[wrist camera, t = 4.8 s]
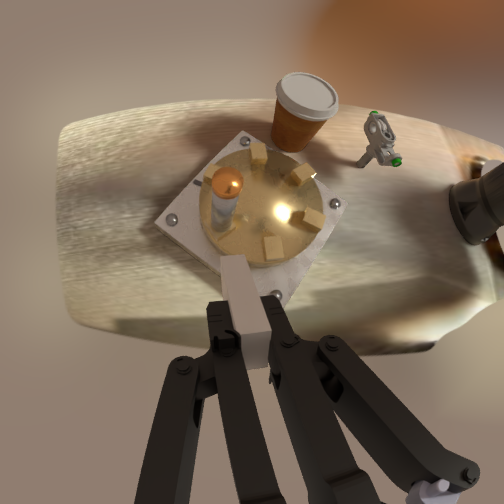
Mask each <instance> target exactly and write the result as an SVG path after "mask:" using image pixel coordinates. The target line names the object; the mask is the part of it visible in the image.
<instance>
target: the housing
mask: <svg viewBox="0 0 504 504" xmlns="http://www.w3.org/2000/svg"><path fill="white" fill-rule="evenodd" d="M250 143H262V142H261V141H259V140H258V139H256V138H255V137H253V136H251V135H250V134H248V133H246V132H245V131H243V130H242V131H241V132H240V133H239V134H238V135H237V136H236V137H235V138H234V139H233V140H232V141H231V142H230V143H228V144H227V145H226V146H225V147H224V148H223V149H222V150H221V151H220V152H219V153H218V154H217V155H216V156H215V157H214V158H213V159H212V160H211V161H210V162H209V163H208V164H207V165H206V166H205V167H204V168H203V169H202V170H201V172H200V173H199V174H198V175H197V176H196V177H195V178H194V179H193V180H192V181H191V182H190V183H189V184H188V185H187V186H186V187H185V188H184V190H183V191H182V192H181V193H180V194H179V195H178V196H177V197H176V198H175V199H174V200H173V202H172V203H171V204H170V205H169V206H168V207H167V208H166V209H165V211H164V212H163V213H162V214H161V215H160V216H159V217H158V219H157V220H156V221H155V222H154V223H155V225H156V227H157V229H158V230H159V231H161V232H162V233H163V234H164V235H166V236H167V237H168V238H169V239H171V240H172V241H173V242H175V243H176V244H177V245H179V246H180V247H181V248H182V249H184V250H185V251H186V252H188V253H189V254H190V255H192V256H193V257H194V258H196V259H197V260H198V261H200V262H201V263H202V264H204V265H205V266H206V267H208V268H209V269H210V270H212V271H213V272H214V273H216V274H217V275H218V276H220V277H221V261H220V256H224V255H223V254H222V253H220V252H219V251H218V250H217V249H216V248H215V247H214V246H213V245H212V243H211V242H210V240H209V239H208V238H207V236H206V234H205V232H204V230H203V227H202V224H201V219H200V210H199V194H200V189H201V185H202V182H203V175H204V173H205V171H206V170H207V168H208V166H209V165H210V163H212V164H215V163H216V162H217V161H219V160H220V159H221V158H223V157H224V156H226V155H228V154H230V153H233V152H236V151H239V150H243V149H249V145H250ZM265 147H266V149H269V150H273V149H272V148H270V147H269V146H267V145H266V144H265ZM273 151H275V150H273ZM313 179H314V181H315V182H316V184H317V186H318V188H319V191H320V194H321V197H322V202H323V214H324V215H326V219H325V222H324V225H323V228H322V230H321V231H320V232H318V234H317V236H316V238H315V239H314V240H313V242H312V243H311V244H310V245H309V246H308V247H307V248H306V249H305V250H304V251H302V252H301V253H300V254H299V255H297V256H296V257H295V258H293V259H292V260H290V261H288V262H286V263H284V264H281V265H278V266H274V267H266V268H258V267H250V266H249V268H250V271H251V274H252V277H253V280H254V282H255V285H256V288H257V291H258V294H259V296H267V295H274V296H275V297H276V298H278V299H279V300H280V302H281V305H282V308H284V307H285V305H286V304H287V302H288V301H289V299H290V298H291V296H292V294H293V293H294V291H295V290H296V288H297V287H298V285H299V284H300V282H301V281H302V279H303V277H304V276H305V274H306V273H307V271H308V269H309V268H310V266H311V265H312V263H313V261H314V260H315V258H316V257H317V255H318V253H319V252H320V250H321V248H322V247H323V245H324V244H325V242H326V240H327V239H328V237H329V235H330V234H331V232H332V230H333V229H334V227H335V225H336V223H337V222H338V220H339V218H340V217H341V215H342V213H343V211H344V210H345V208H346V206H347V204H348V203H347V202H346V201H345V200H344V199H342V198H341V197H340V196H338V195H337V194H336V193H334V192H333V191H332V190H330V189H329V188H328V187H326V186H325V185H324V184H322V183H321V182H320V181H318V180H317V179H316V178H314V177H313Z"/></svg>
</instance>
